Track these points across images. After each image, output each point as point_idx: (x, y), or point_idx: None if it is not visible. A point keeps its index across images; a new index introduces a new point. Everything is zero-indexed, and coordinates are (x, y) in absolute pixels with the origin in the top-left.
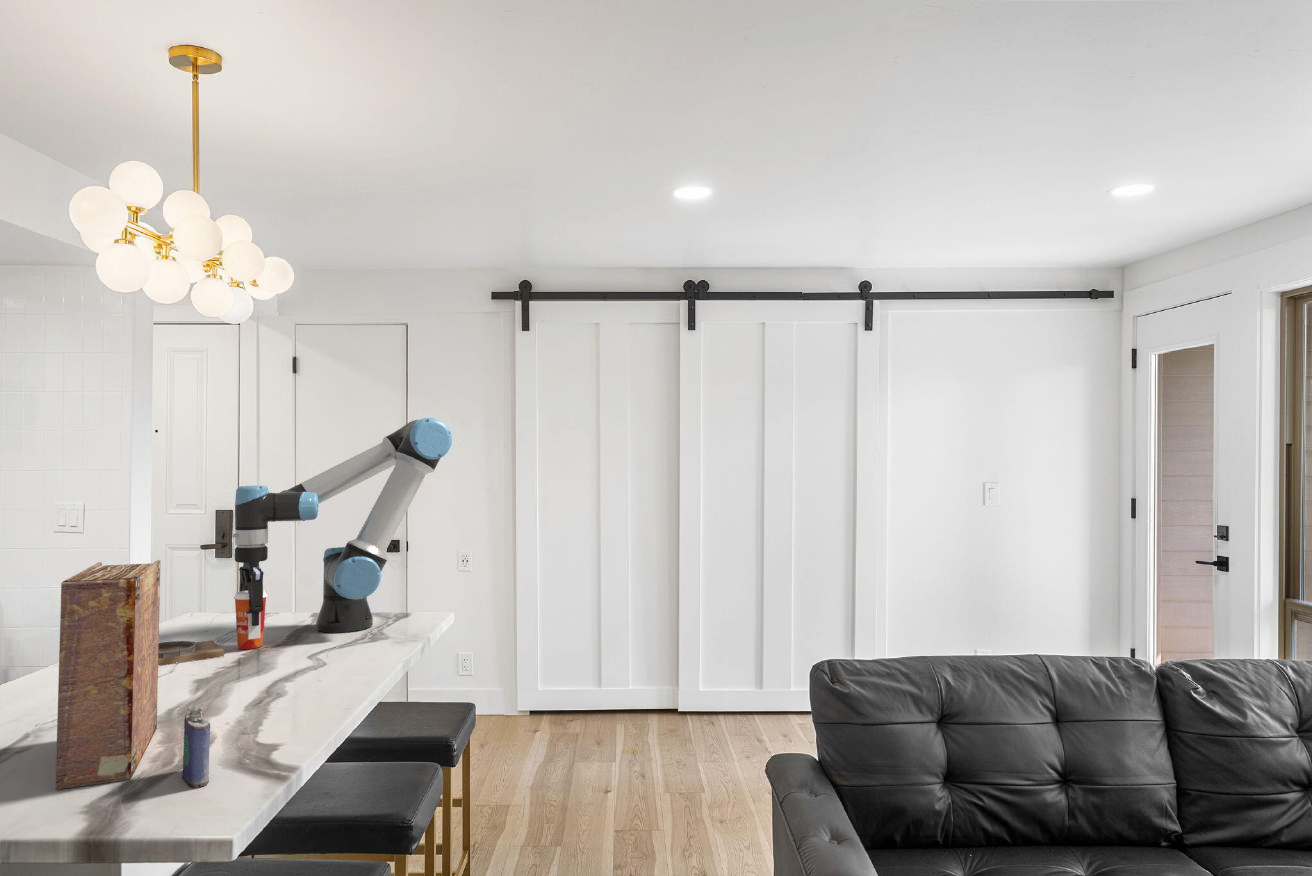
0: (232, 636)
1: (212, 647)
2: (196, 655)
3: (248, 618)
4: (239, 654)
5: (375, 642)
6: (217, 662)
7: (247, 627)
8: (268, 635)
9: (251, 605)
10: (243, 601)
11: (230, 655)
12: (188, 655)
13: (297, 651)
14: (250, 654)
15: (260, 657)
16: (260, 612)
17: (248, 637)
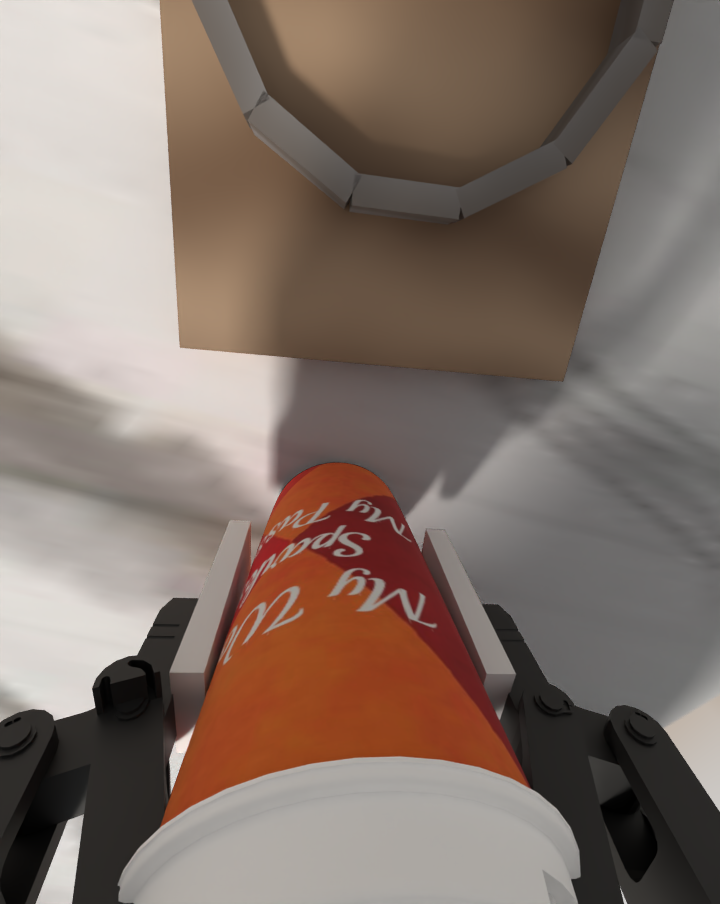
0: (677, 523)
1: (330, 315)
2: (170, 144)
3: (203, 626)
4: (192, 426)
5: (74, 856)
6: (27, 253)
7: (253, 568)
8: (542, 640)
9: (20, 788)
10: (197, 789)
11: (198, 379)
12: (166, 70)
13: (78, 643)
14: (151, 469)
15: (33, 486)
16: (179, 745)
17: (235, 526)
